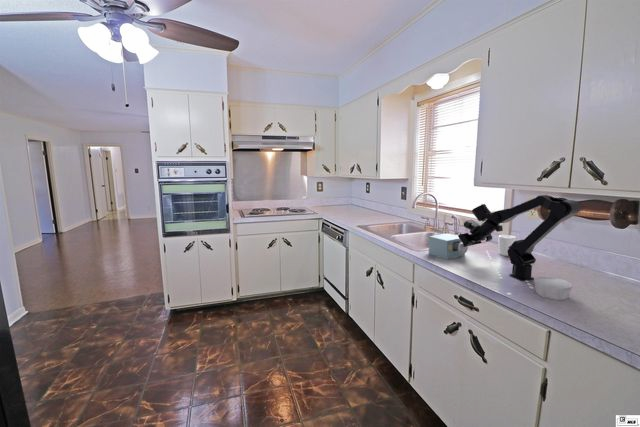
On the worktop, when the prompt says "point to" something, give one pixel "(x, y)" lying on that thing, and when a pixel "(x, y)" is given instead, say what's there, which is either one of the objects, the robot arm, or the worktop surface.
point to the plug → (460, 247)
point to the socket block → (444, 246)
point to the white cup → (505, 243)
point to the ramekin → (552, 288)
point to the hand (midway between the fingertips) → (464, 246)
